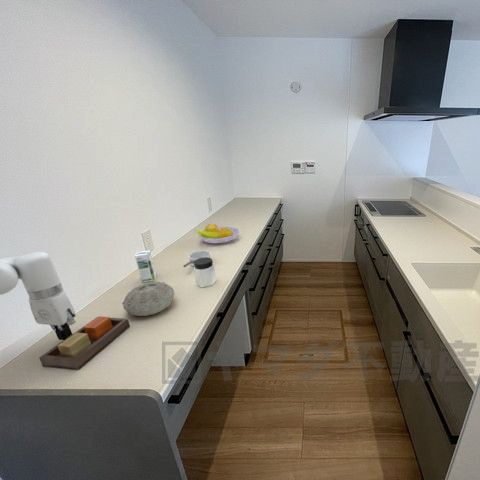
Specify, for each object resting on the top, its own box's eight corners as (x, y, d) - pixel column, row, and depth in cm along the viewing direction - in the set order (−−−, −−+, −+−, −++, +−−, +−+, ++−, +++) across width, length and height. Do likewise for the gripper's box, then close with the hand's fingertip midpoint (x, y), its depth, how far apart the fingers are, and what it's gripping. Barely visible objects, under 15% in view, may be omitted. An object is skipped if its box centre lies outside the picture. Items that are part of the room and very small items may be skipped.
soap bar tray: (42, 366, 80) (35, 351, 78) (100, 324, 99) (95, 310, 97) (78, 370, 79) (72, 354, 77) (129, 326, 98) (126, 313, 96)
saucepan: (175, 274, 136) (173, 265, 134) (197, 258, 154) (195, 250, 152) (196, 276, 135) (194, 266, 133) (215, 260, 153) (214, 251, 151)
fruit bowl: (236, 232, 200) (235, 217, 196) (242, 244, 177) (240, 228, 173) (196, 236, 190) (194, 221, 186) (196, 250, 166) (194, 233, 162)
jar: (219, 282, 129) (216, 260, 125) (204, 289, 123) (200, 266, 119) (208, 277, 134) (205, 255, 130) (193, 283, 128) (189, 261, 123)
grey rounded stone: (115, 316, 103) (108, 294, 100) (153, 293, 119) (149, 273, 116) (150, 325, 98) (144, 302, 95) (185, 299, 114) (181, 279, 111)
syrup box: (141, 283, 127) (134, 256, 122) (143, 277, 132) (136, 251, 127) (155, 281, 130) (148, 254, 124) (156, 275, 135) (150, 249, 130)
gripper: (10, 296, 80) (33, 343, 86) (55, 298, 78) (75, 347, 85) (37, 283, 87) (57, 328, 93) (78, 285, 85) (95, 331, 92)
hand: (65, 337), depth 89 cm, fingers closed
